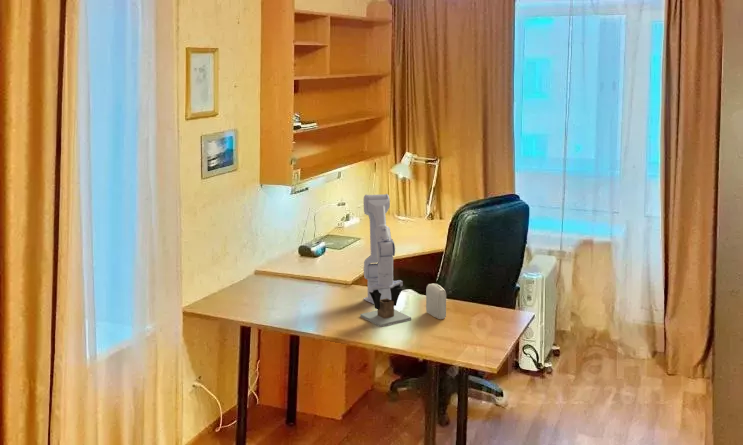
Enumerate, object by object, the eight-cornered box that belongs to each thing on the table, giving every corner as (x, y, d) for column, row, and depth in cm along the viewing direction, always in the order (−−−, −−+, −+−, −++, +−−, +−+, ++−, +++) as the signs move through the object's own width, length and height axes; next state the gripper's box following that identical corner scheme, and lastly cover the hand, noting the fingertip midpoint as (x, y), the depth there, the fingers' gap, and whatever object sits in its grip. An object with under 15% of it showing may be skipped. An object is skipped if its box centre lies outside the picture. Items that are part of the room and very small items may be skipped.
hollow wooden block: (387, 313, 325) (387, 298, 323) (393, 316, 321) (393, 301, 320) (377, 315, 322) (377, 300, 321) (384, 318, 319) (384, 303, 317)
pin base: (390, 309, 331) (390, 298, 330) (411, 319, 320) (411, 307, 319) (360, 316, 324) (360, 304, 323) (380, 327, 313) (380, 314, 311)
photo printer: (424, 312, 329) (424, 281, 326) (434, 310, 330) (434, 280, 328) (437, 320, 320) (438, 289, 317) (447, 318, 321) (448, 287, 319)
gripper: (375, 278, 311) (375, 313, 314) (407, 272, 318) (407, 306, 322) (365, 273, 317) (365, 308, 320) (396, 267, 324) (396, 301, 327)
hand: (385, 306), depth 321 cm, fingers open, 7 cm apart
